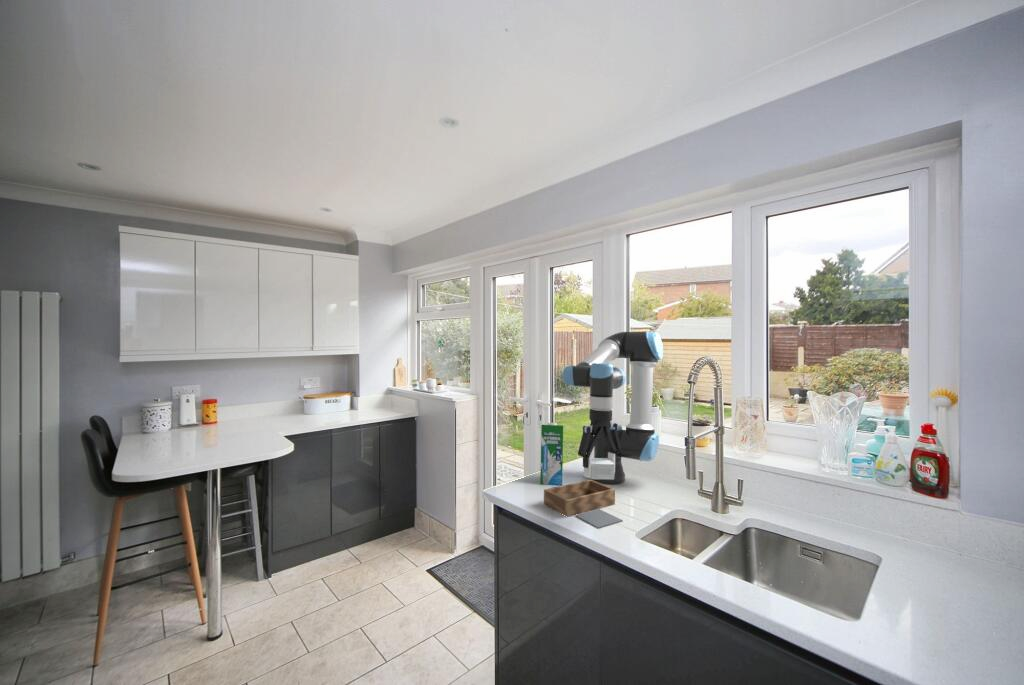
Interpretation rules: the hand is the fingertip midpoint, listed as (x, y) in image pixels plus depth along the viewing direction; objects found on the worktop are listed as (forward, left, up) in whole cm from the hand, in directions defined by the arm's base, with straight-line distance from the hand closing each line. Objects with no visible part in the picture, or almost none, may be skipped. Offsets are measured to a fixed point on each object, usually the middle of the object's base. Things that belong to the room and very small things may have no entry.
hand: (599, 474), depth 144 cm
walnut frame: (-3, -13, -15) cm, 20 cm away
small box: (0, 0, -1) cm, 1 cm away
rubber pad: (0, 0, -15) cm, 15 cm away
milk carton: (-10, -39, -15) cm, 43 cm away
